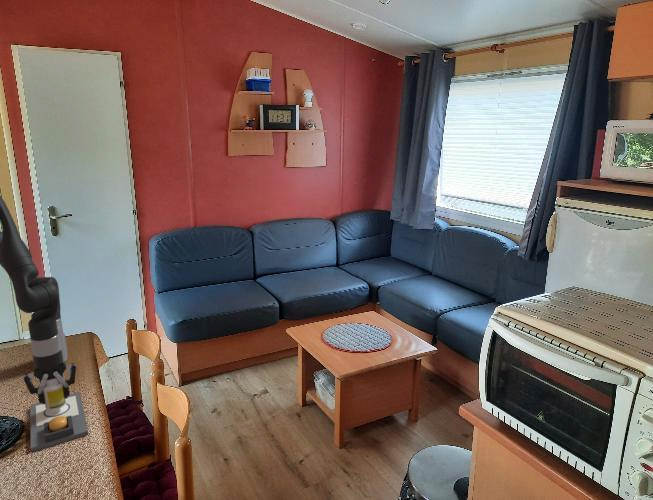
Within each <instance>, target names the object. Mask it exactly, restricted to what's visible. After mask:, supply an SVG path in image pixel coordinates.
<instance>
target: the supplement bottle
mask: <svg viewBox="0 0 653 500" xmlns="http://www.w3.org/2000/svg"><path fill="white" fill-rule="evenodd" d="M43 395H44V401H45V407H46V409H47V410H57V409H59V408H61V407H63V406H64V405H65V403H66V401H65V395H64V389H63V385H62V384H61V383H60V382H59V380H58V379H57V378H53V379H49V380H46V383H45V386H44V388H43Z"/></svg>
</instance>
